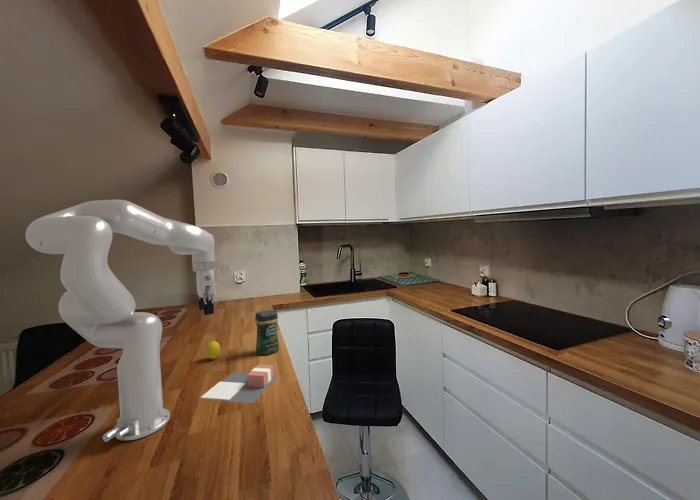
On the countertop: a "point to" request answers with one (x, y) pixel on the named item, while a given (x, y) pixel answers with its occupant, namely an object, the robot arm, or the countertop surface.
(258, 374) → the card box
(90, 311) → the robot arm
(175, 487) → the countertop surface
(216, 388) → the pad
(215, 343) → the lemon
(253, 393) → the mat
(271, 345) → the coffee jar
